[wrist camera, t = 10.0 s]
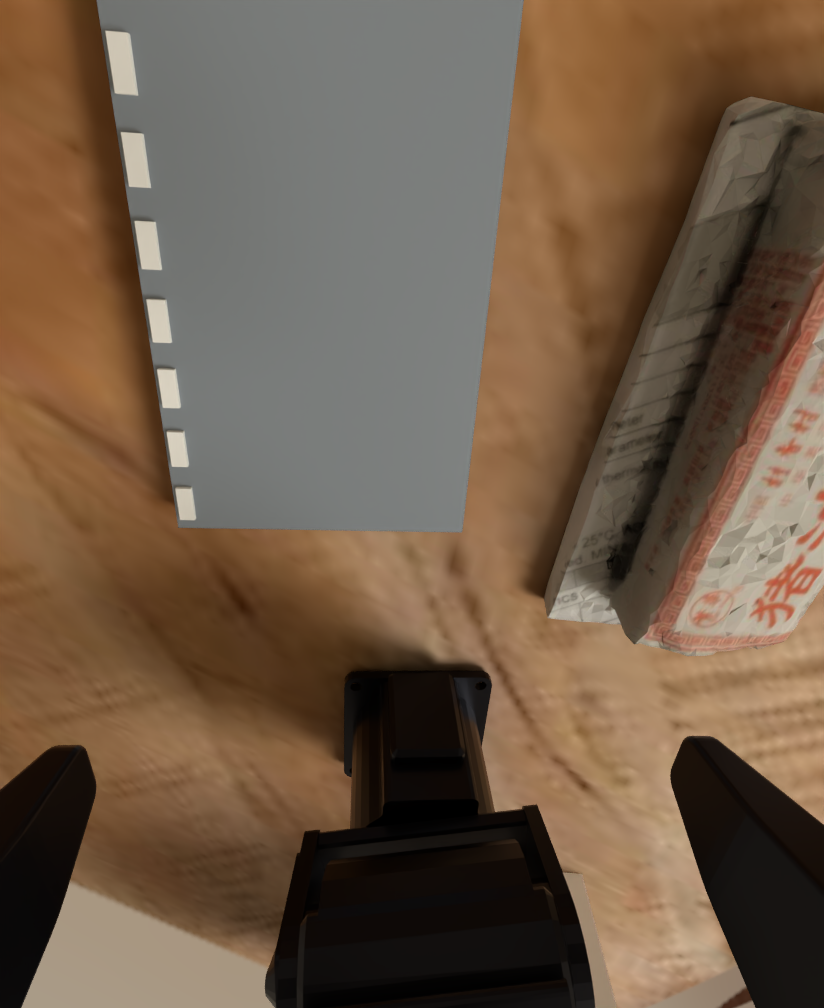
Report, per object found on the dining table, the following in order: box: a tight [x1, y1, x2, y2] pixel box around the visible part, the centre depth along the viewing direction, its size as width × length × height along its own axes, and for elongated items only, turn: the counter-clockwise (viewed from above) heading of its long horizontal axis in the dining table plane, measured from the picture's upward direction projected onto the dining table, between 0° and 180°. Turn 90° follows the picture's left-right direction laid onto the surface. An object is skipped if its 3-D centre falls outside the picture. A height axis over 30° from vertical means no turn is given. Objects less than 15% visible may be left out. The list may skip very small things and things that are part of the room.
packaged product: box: [544, 97, 824, 656], centre depth 19 cm, size 18×5×10 cm
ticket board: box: [97, 0, 524, 532], centre depth 16 cm, size 18×10×1 cm, turn 177°
